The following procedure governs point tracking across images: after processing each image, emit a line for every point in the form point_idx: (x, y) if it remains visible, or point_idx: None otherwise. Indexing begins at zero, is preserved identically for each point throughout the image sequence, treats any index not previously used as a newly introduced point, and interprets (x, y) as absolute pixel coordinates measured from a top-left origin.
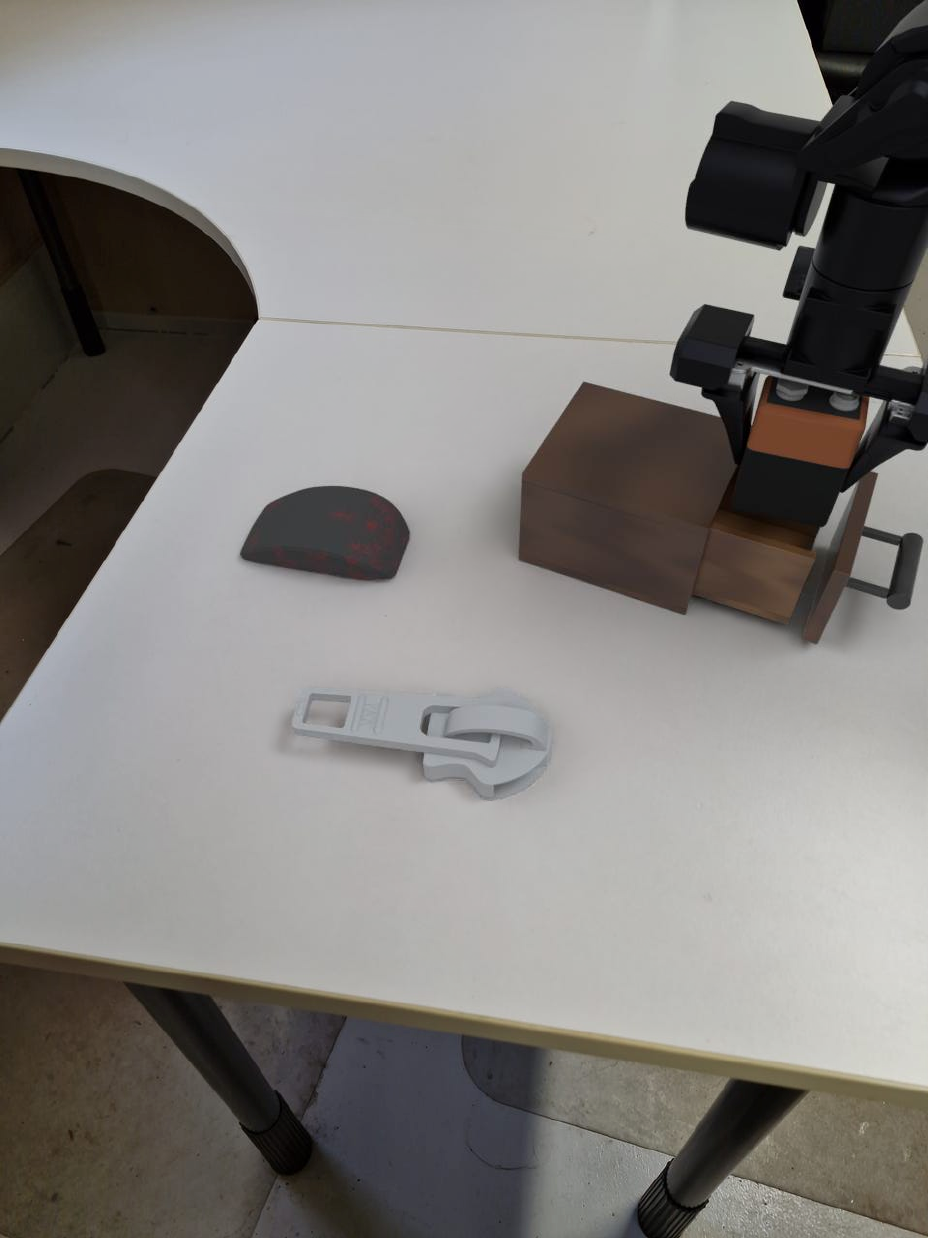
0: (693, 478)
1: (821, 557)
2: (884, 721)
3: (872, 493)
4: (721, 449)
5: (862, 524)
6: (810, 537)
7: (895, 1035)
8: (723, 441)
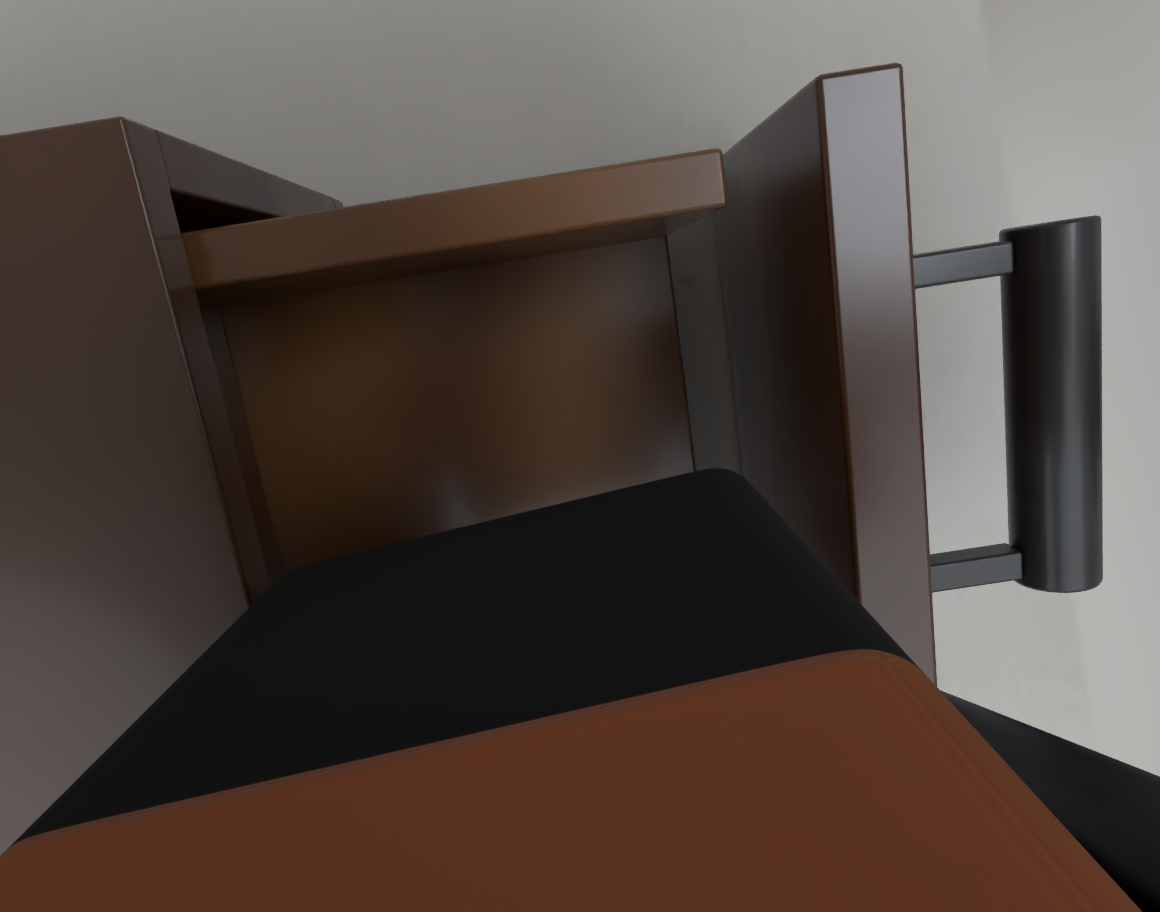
0: (107, 741)
1: (696, 230)
2: (1008, 712)
3: (911, 256)
4: (91, 452)
5: (921, 515)
6: (650, 246)
7: None
8: (59, 379)
